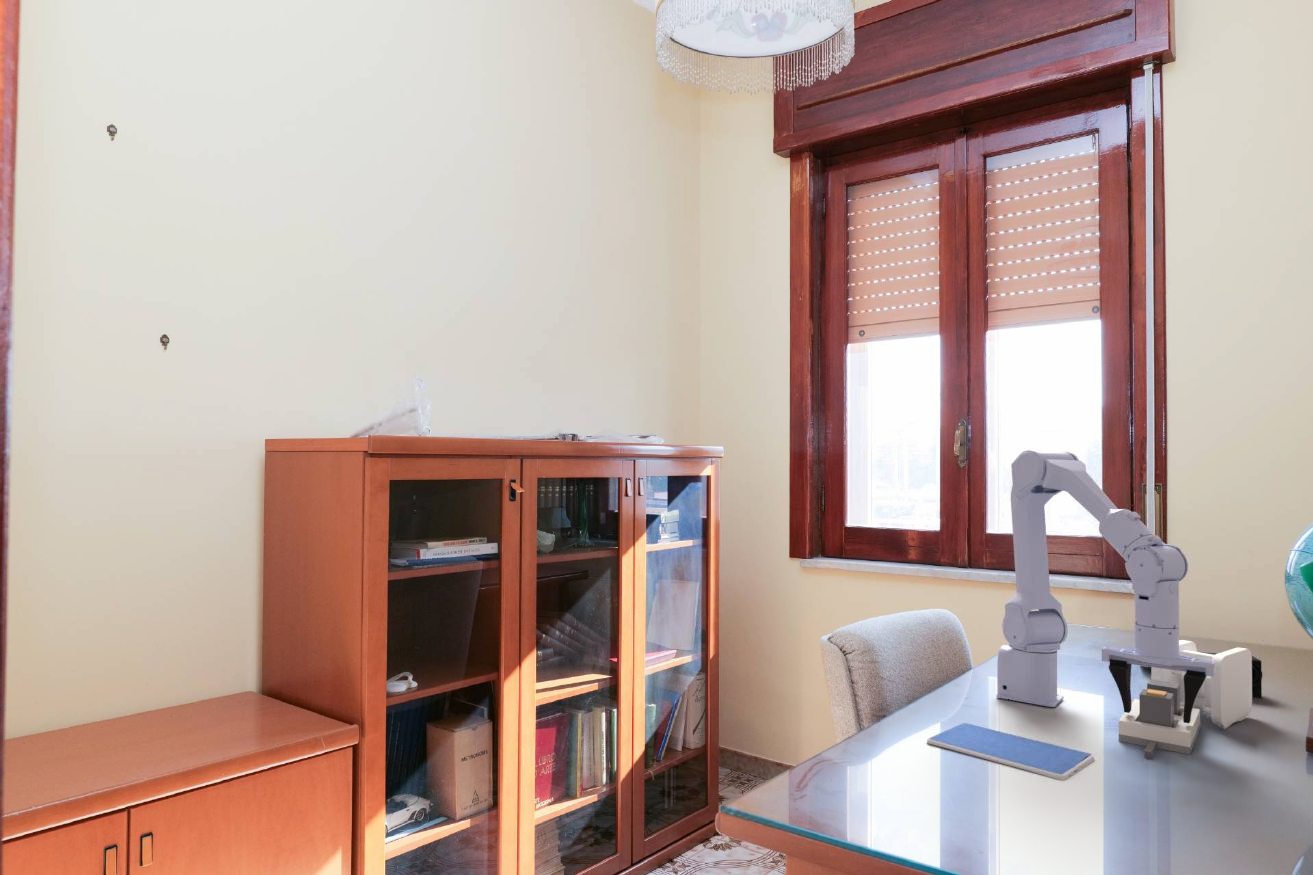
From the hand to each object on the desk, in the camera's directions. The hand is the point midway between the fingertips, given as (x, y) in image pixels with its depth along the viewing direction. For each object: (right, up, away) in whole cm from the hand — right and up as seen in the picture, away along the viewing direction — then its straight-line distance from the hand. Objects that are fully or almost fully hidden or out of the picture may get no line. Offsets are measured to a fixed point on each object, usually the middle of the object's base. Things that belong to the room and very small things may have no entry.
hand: (1156, 716), depth 124 cm
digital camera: (+30, -6, +29) cm, 42 cm away
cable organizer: (+15, -5, +13) cm, 21 cm away
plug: (0, -3, 0) cm, 3 cm away
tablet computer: (-25, -4, -6) cm, 26 cm away
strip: (+1, -4, +1) cm, 4 cm away
